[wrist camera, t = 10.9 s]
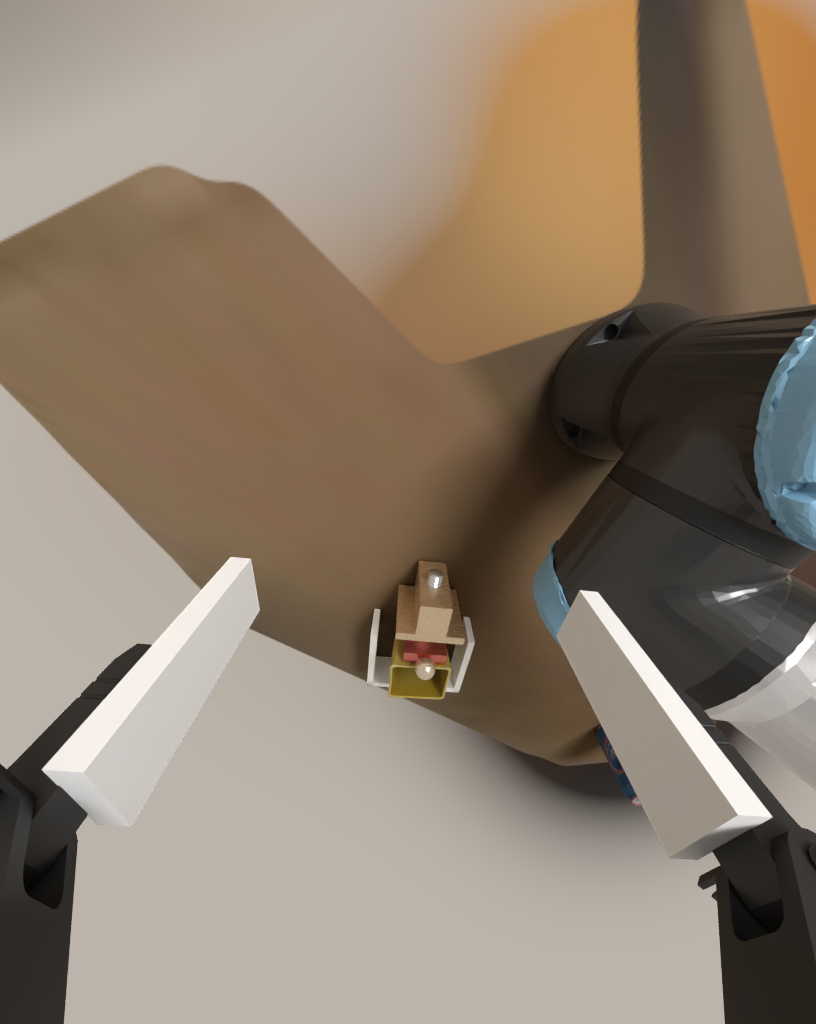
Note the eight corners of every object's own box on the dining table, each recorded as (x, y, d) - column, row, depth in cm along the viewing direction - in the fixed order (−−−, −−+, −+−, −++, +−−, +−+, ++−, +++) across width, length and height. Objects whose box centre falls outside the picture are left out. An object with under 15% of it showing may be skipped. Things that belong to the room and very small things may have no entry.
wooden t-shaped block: (464, 555, 44) (479, 616, 34) (448, 619, 50) (457, 687, 40) (403, 549, 43) (400, 609, 33) (394, 615, 49) (390, 681, 39)
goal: (469, 617, 50) (474, 642, 46) (455, 665, 56) (458, 692, 52) (374, 608, 49) (370, 633, 45) (370, 658, 55) (366, 685, 51)
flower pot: (439, 647, 54) (443, 700, 46) (391, 645, 54) (387, 698, 46) (446, 615, 49) (452, 668, 42) (393, 612, 49) (390, 665, 41)
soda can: (613, 716, 63) (653, 788, 53) (633, 726, 65) (676, 798, 55) (587, 730, 66) (620, 802, 56) (607, 739, 68) (643, 811, 57)
